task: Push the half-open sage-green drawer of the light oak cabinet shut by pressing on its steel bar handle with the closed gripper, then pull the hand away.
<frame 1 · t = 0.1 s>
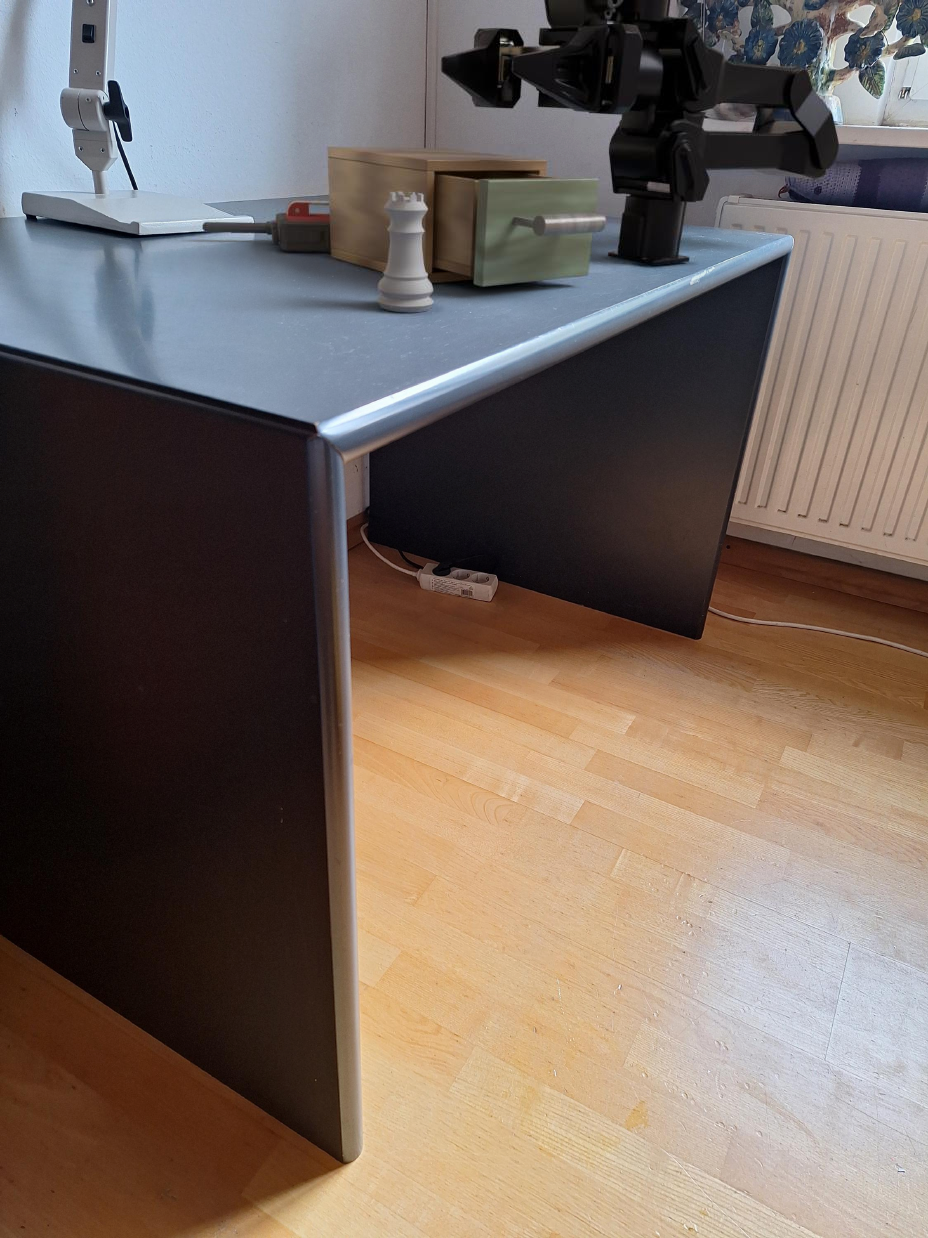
hand: (476, 64, 71), 17 cm above the table, tool horizontal, fingers open, 9 cm apart
walkie-talkie: (302, 248, 91), on the table
drawer: (500, 223, 76), point 5 cm above the table, slide at 6.0 cm
rook chess piece: (405, 309, 67), on the table
cabinet: (432, 264, 85), on the table
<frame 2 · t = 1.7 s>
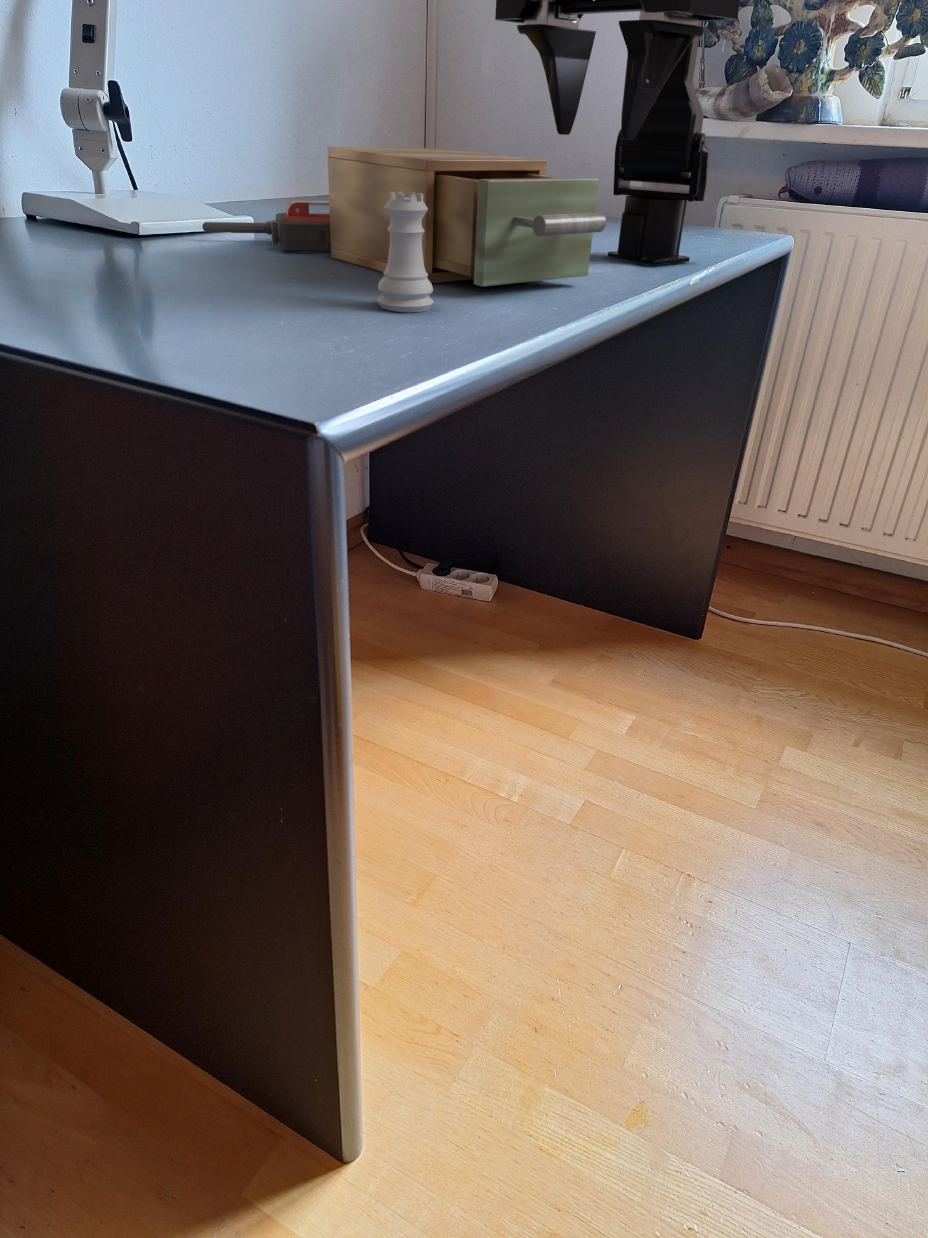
hand: (594, 136, 65), 12 cm above the table, tool pointing down, fingers open, 6 cm apart
nothing on the table moved.
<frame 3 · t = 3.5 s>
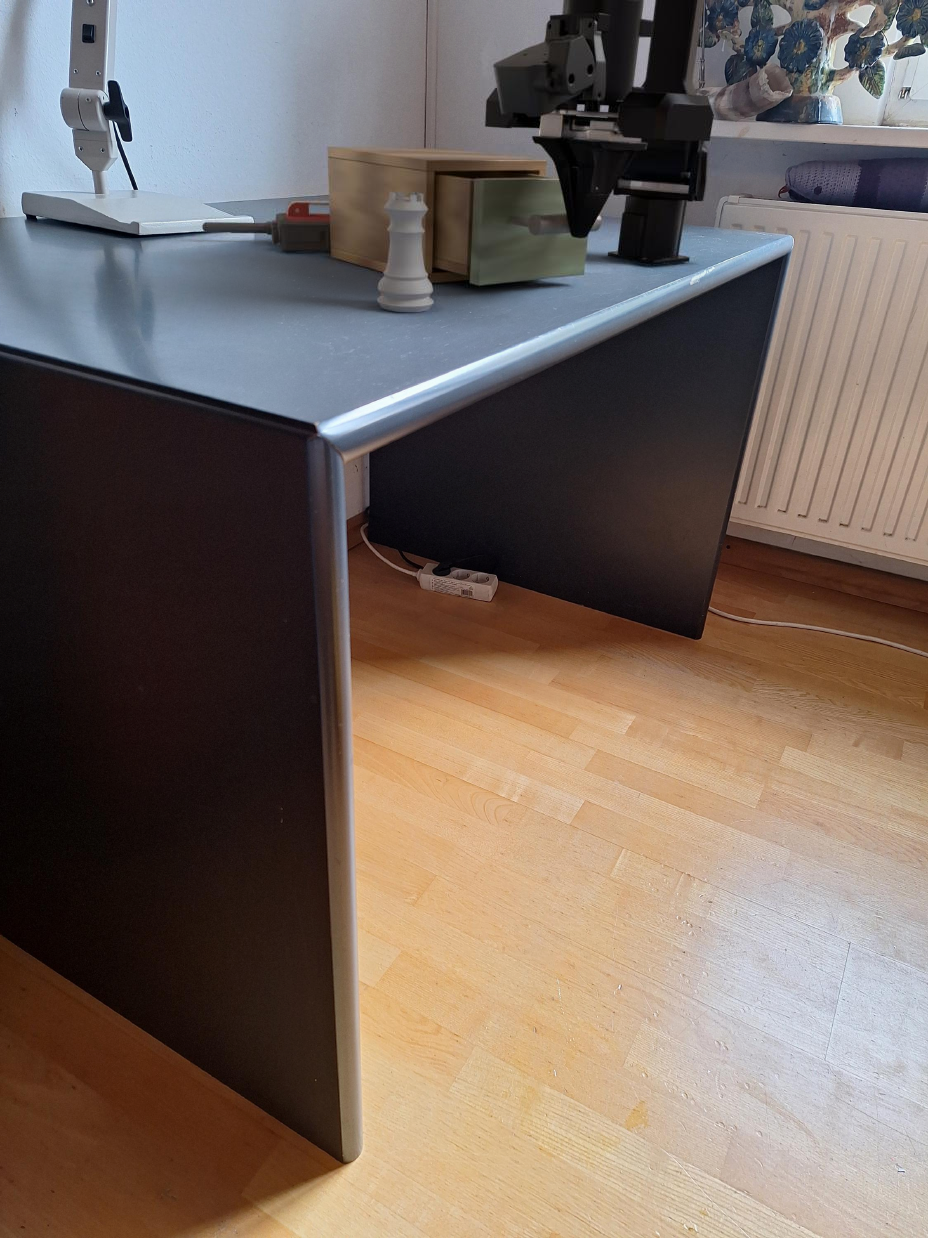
hand: (578, 237, 69), 5 cm above the table, tool pointing down, fingers closed
drawer: (497, 222, 76), point 5 cm above the table, slide at 5.5 cm, touching gripper
everything else where it was.
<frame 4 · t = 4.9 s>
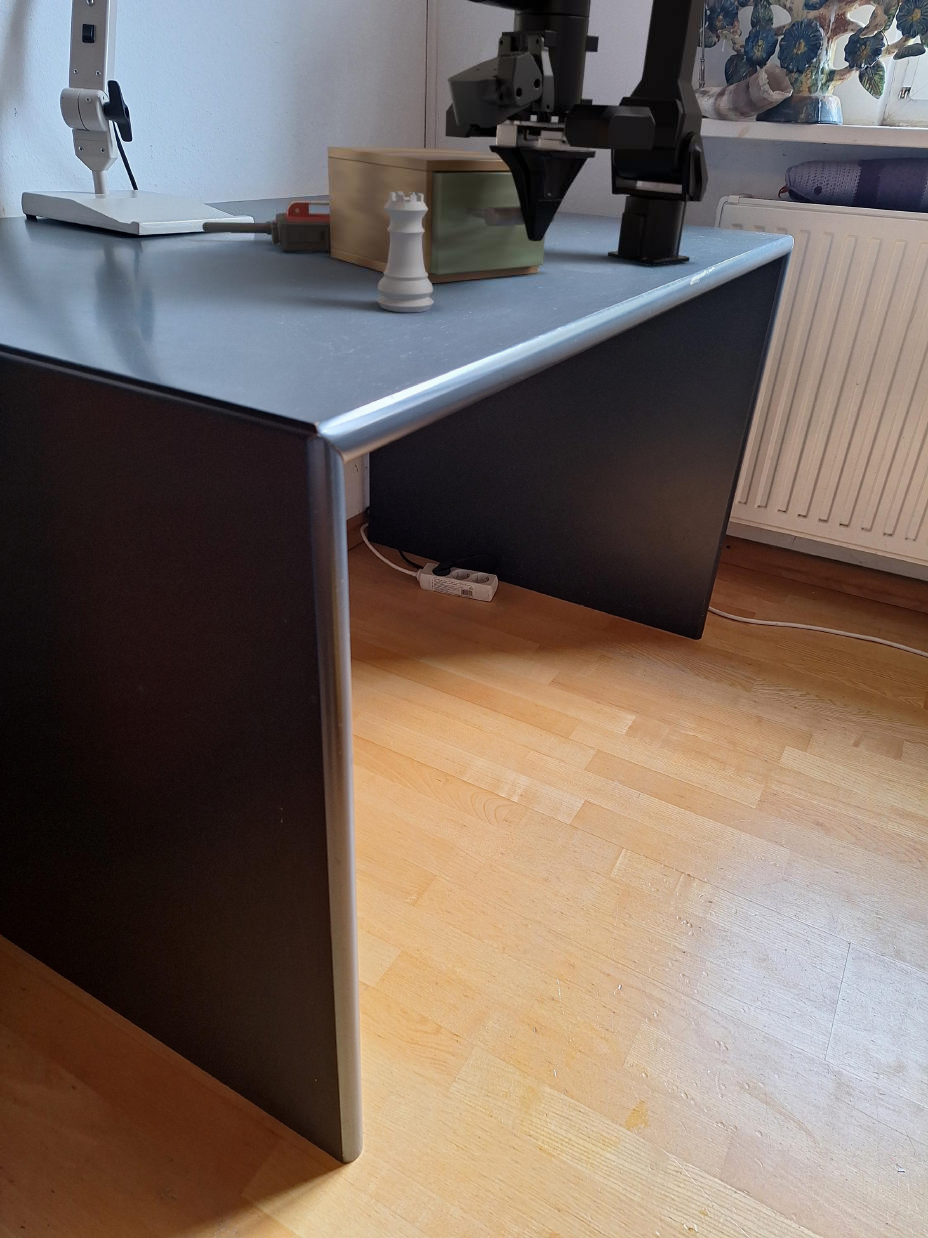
hand: (534, 240, 73), 4 cm above the table, tool pointing down, fingers closed
drawer: (458, 215, 80), point 5 cm above the table, slide at 0.0 cm, touching cabinet, gripper
everything else where it was.
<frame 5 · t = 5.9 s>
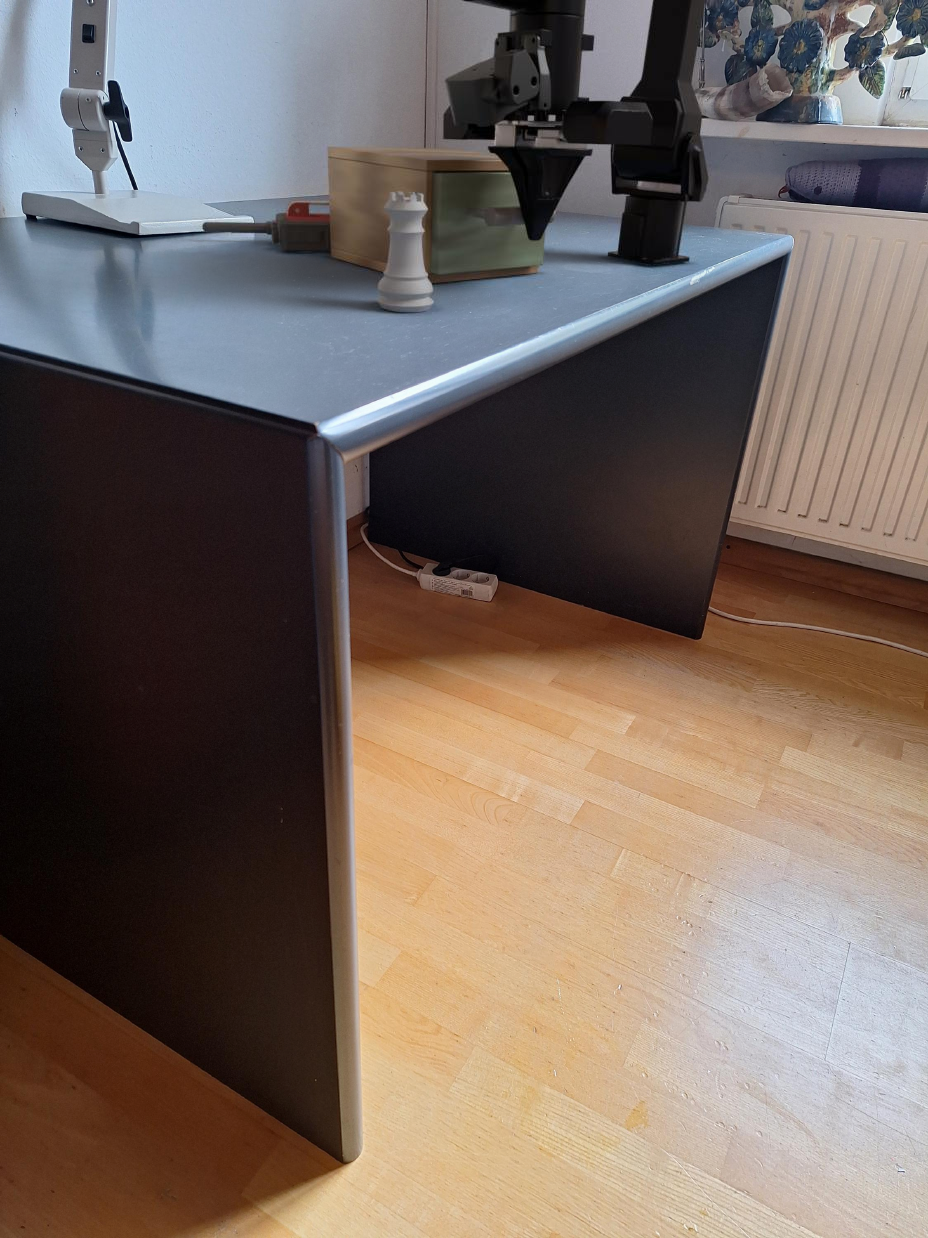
hand: (534, 240, 73), 4 cm above the table, tool pointing down, fingers closed
nothing on the table moved.
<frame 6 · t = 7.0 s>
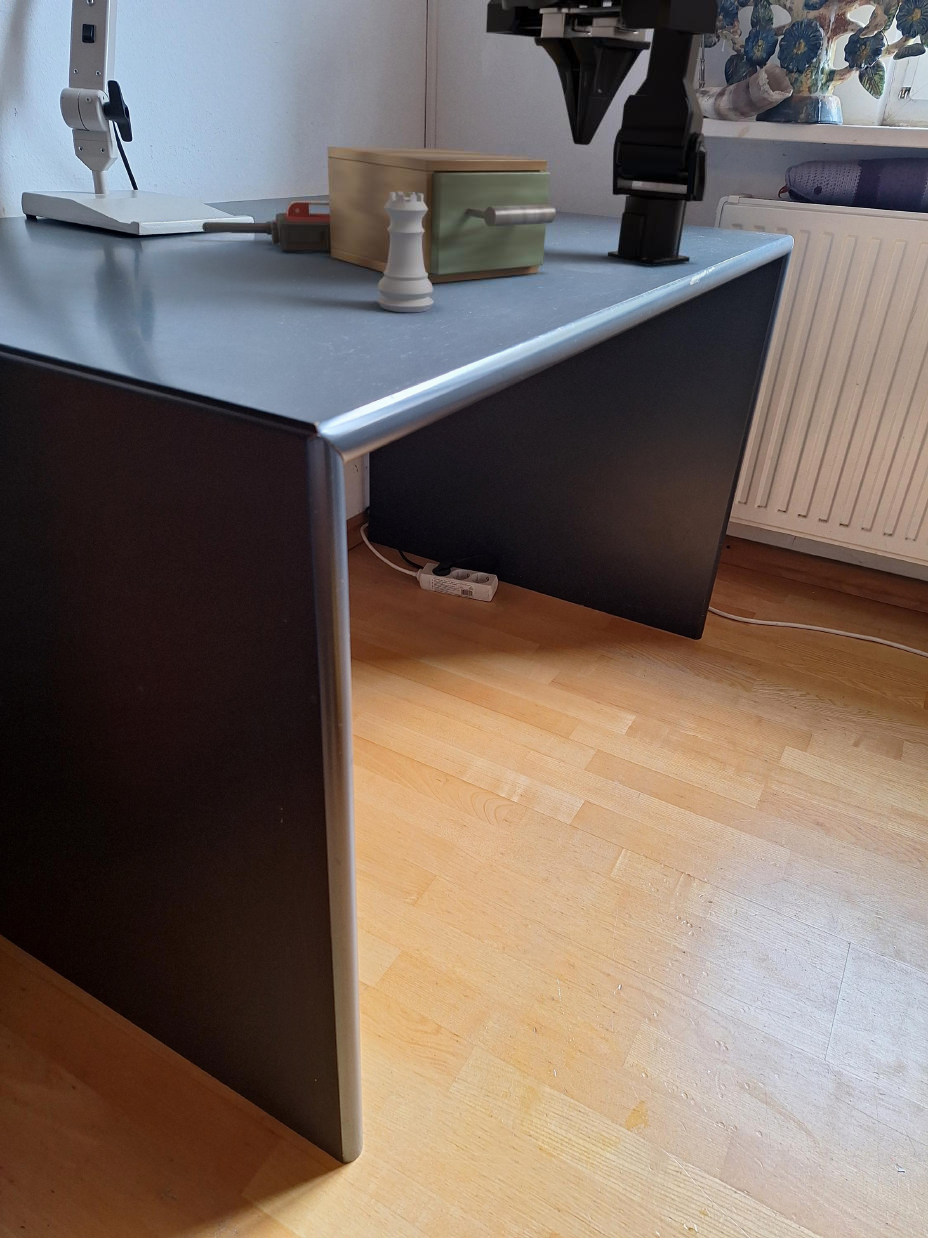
hand: (581, 144, 69), 11 cm above the table, tool pointing down, fingers closed
drawer: (458, 215, 80), point 5 cm above the table, slide at 0.0 cm, touching cabinet
everything else where it was.
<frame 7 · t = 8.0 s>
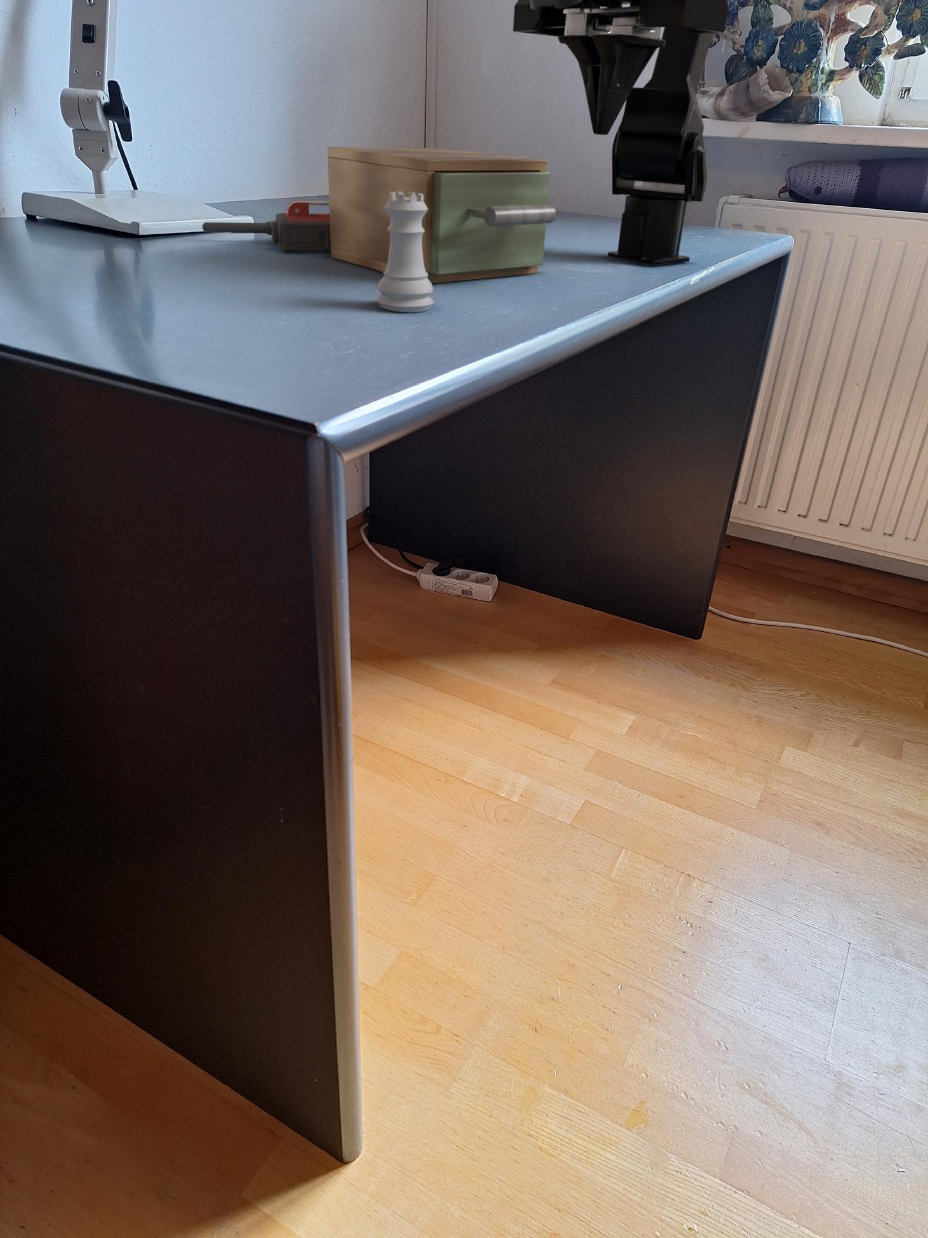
hand: (600, 134, 74), 12 cm above the table, tool pointing down, fingers closed
nothing on the table moved.
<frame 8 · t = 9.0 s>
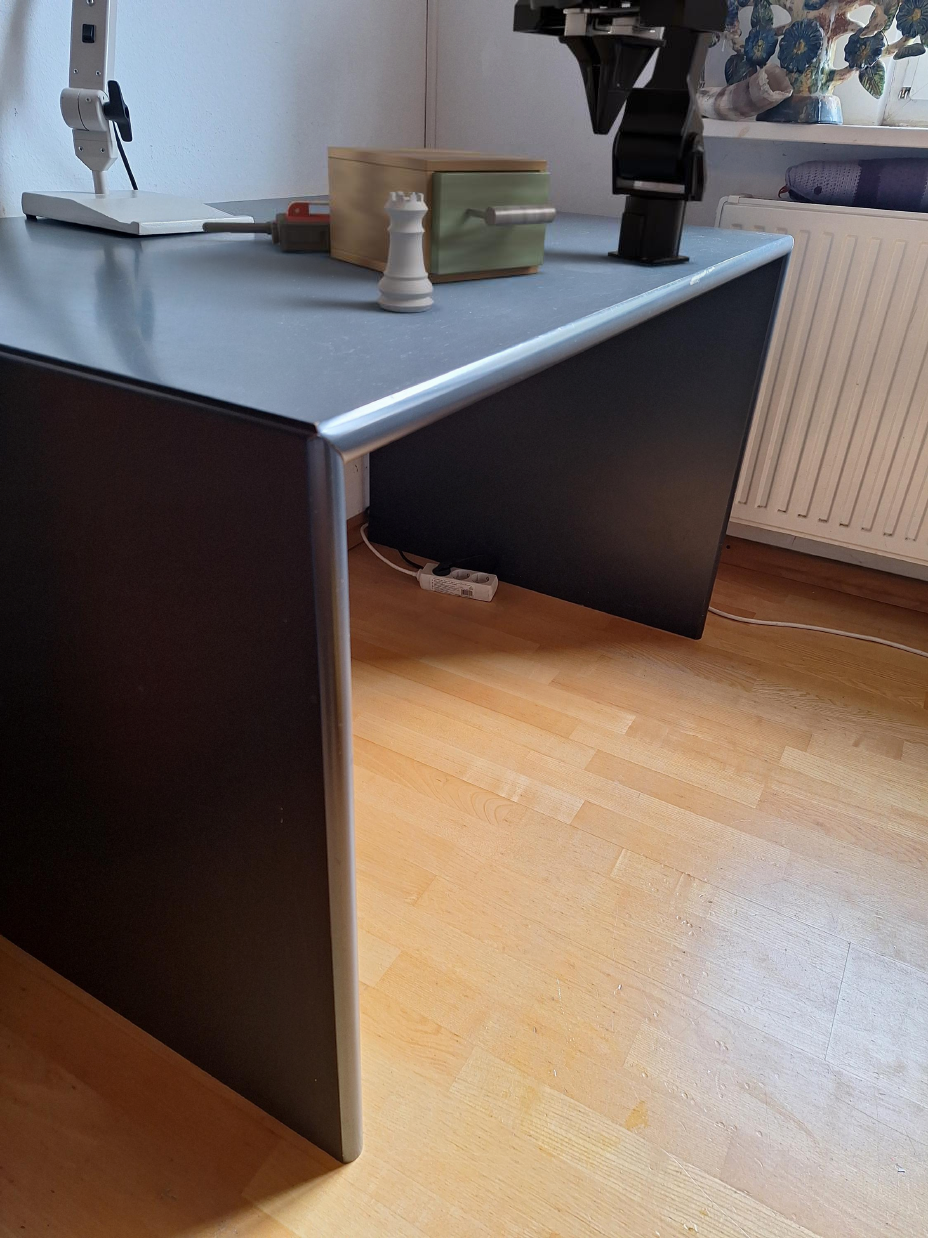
hand: (600, 134, 74), 12 cm above the table, tool pointing down, fingers closed
nothing on the table moved.
at the end: drawer slide at 0.0 cm; rook chess piece moved 0.2 cm from its start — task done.
